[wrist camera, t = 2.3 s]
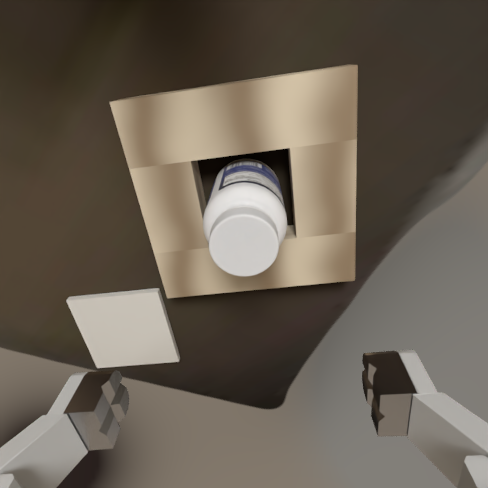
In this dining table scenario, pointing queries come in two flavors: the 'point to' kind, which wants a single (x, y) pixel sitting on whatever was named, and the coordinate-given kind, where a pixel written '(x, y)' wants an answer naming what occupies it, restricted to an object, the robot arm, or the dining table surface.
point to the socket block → (244, 142)
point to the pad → (125, 328)
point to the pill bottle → (245, 218)
